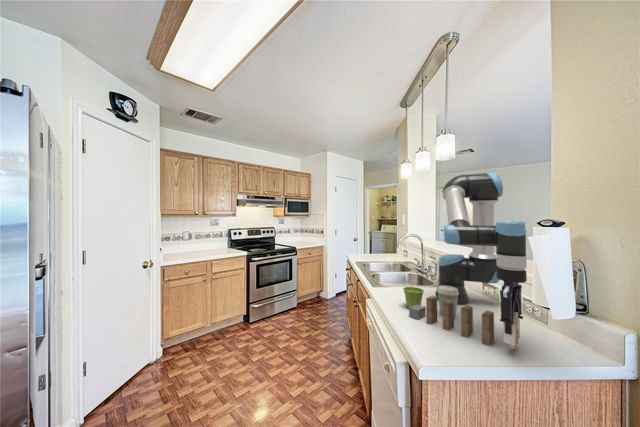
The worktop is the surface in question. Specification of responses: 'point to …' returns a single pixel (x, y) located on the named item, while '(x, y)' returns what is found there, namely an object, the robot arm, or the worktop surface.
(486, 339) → the tile
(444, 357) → the worktop surface
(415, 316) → the block
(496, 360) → the worktop surface
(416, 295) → the plant pot
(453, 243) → the robot arm
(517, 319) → the tile
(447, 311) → the tile
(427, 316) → the tile
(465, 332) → the tile
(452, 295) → the coffee cup
